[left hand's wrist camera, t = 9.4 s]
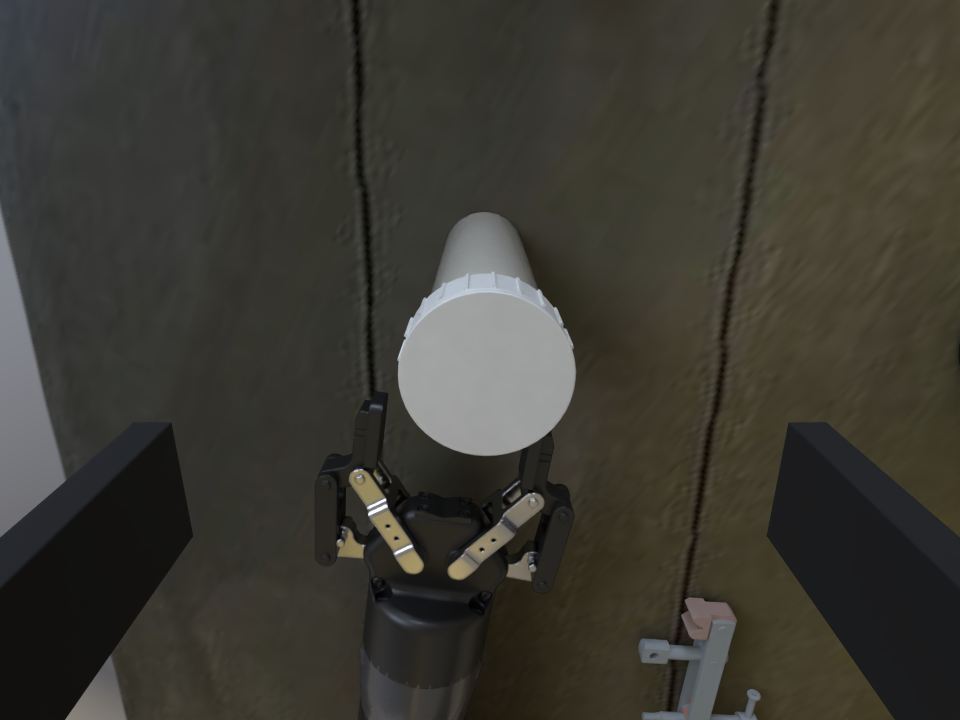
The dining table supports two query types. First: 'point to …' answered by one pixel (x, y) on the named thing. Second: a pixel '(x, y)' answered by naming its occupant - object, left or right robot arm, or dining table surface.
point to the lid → (486, 365)
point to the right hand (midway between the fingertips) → (459, 408)
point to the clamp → (699, 662)
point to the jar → (483, 250)
